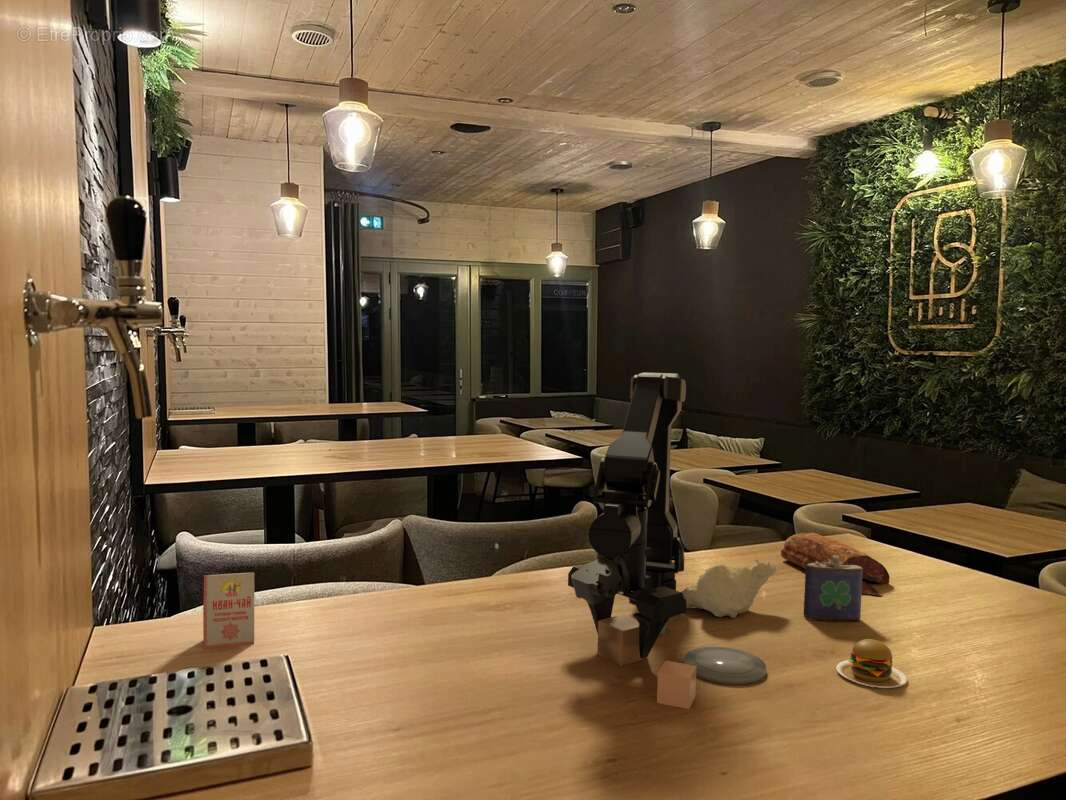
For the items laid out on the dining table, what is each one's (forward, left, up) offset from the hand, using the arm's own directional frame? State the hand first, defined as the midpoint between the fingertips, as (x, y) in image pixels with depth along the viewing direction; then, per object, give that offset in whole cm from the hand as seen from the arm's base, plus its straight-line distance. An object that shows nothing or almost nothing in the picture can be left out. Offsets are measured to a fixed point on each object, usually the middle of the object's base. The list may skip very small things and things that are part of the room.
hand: (622, 648), depth 113 cm
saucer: (+11, +9, -1) cm, 14 cm away
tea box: (-36, -44, -1) cm, 57 cm away
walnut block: (0, 0, -1) cm, 1 cm away
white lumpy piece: (-4, +29, -1) cm, 30 cm away
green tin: (-5, +11, -1) cm, 12 cm away
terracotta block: (+14, -4, -1) cm, 15 cm away
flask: (+8, +40, -1) cm, 41 cm away
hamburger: (+24, +24, -2) cm, 34 cm away
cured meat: (-6, +63, -2) cm, 63 cm away
